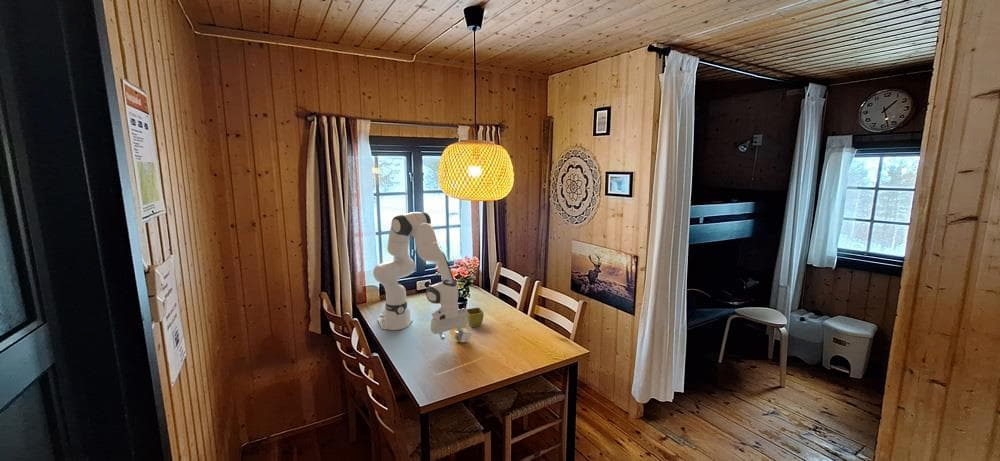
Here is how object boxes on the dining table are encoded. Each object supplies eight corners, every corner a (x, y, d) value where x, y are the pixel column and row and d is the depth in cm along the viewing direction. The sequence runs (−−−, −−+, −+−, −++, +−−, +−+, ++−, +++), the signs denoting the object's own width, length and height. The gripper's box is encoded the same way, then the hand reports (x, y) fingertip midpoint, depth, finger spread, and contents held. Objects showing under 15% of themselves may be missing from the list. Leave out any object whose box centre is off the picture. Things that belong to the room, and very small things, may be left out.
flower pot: (484, 327, 227) (484, 312, 225) (469, 329, 224) (469, 314, 222) (479, 321, 235) (479, 307, 233) (465, 323, 232) (465, 309, 230)
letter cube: (457, 328, 208) (465, 328, 212) (454, 338, 208) (463, 338, 212) (462, 331, 204) (471, 332, 207) (460, 342, 204) (468, 342, 207)
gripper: (463, 305, 209) (464, 329, 211) (428, 314, 197) (429, 340, 199) (470, 309, 204) (470, 334, 206) (434, 318, 192) (435, 344, 194)
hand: (450, 337), depth 203 cm, fingers open, 8 cm apart
